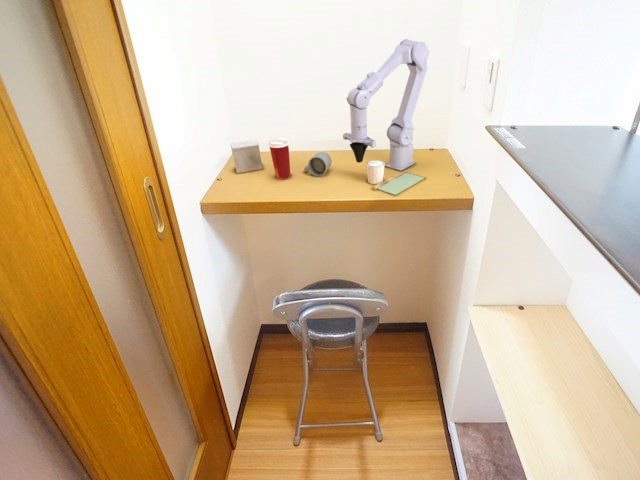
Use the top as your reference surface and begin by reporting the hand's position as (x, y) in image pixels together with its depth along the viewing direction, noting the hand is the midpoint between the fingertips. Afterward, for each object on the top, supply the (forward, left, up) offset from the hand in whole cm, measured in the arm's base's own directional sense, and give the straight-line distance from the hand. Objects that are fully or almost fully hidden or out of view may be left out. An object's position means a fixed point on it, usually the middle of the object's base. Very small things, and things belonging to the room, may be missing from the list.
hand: (359, 161), depth 150 cm
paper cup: (+19, -23, -6) cm, 31 cm away
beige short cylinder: (0, +8, -6) cm, 10 cm away
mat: (-4, +17, -6) cm, 18 cm away
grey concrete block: (+23, -40, -6) cm, 47 cm away
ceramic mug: (+8, -15, -6) cm, 18 cm away
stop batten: (0, +12, -6) cm, 13 cm away
